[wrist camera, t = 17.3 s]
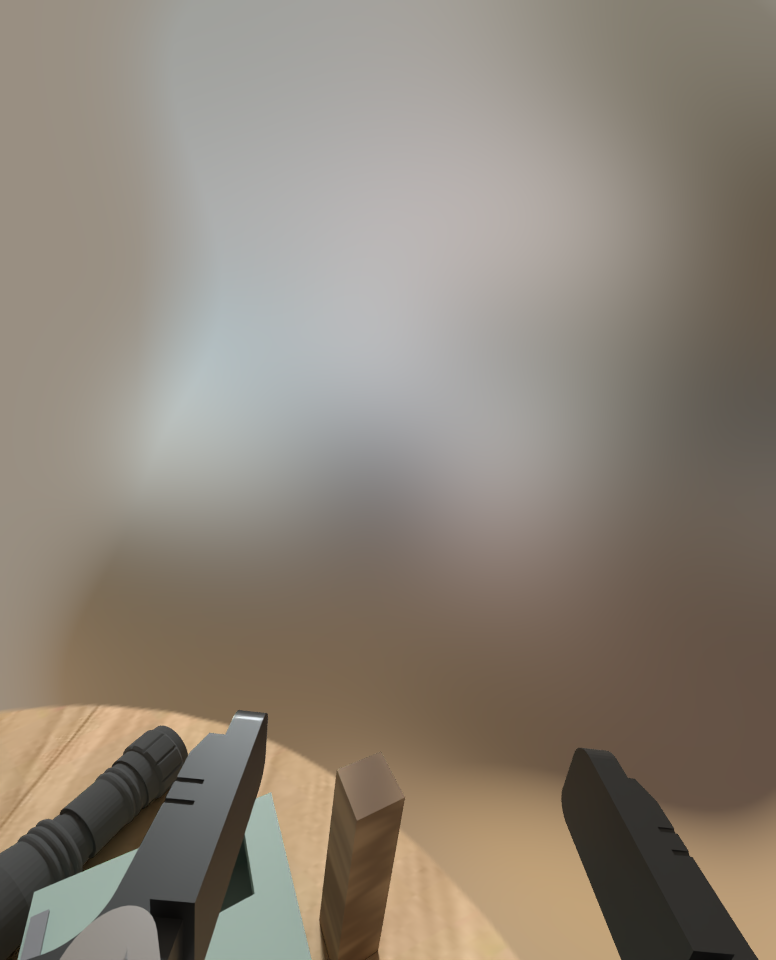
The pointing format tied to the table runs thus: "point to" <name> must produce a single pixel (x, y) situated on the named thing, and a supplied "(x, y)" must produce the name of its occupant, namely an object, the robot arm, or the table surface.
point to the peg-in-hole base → (243, 916)
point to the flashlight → (84, 827)
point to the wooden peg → (360, 857)
